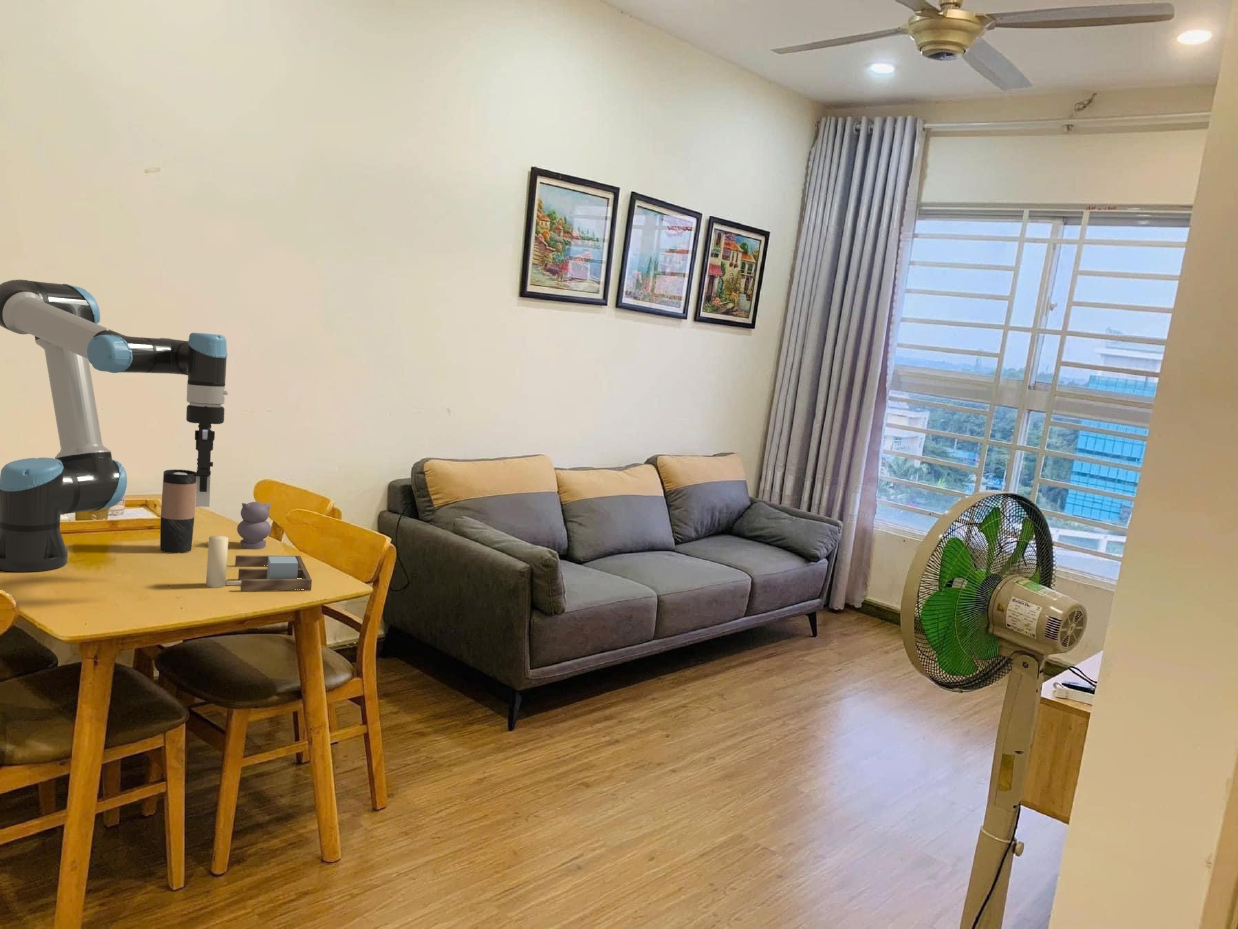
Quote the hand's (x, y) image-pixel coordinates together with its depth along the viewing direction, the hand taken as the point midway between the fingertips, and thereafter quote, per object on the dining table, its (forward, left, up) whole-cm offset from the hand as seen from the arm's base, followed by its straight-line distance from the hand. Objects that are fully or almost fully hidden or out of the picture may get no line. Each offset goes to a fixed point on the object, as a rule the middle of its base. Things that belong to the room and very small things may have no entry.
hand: (202, 501), depth 200 cm
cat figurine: (+14, +37, -20) cm, 45 cm away
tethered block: (+11, +1, -19) cm, 23 cm away
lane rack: (+16, +7, -20) cm, 26 cm away
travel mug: (-4, +33, -20) cm, 38 cm away
